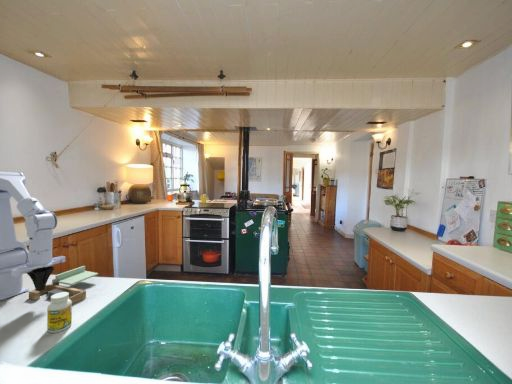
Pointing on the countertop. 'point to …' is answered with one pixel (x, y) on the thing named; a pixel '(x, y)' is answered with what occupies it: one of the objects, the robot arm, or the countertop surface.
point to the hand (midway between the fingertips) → (40, 289)
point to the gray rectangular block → (55, 292)
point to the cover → (73, 276)
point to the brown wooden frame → (75, 293)
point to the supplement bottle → (59, 312)
